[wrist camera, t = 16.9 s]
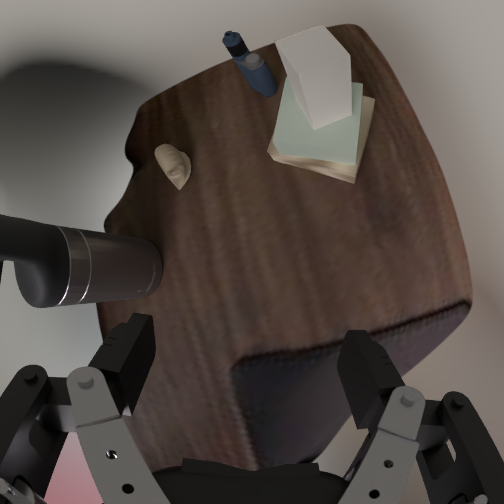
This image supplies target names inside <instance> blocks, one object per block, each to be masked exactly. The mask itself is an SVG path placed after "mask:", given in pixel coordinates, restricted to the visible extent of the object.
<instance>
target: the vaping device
mask: <svg viewBox="0 0 504 504" xmlns="http://www.w3.org/2000/svg"><path fill="white" fill-rule="evenodd" d="M223 43H224V45H225V46H226V48H227V49H228V51H229V52H230V54H231V56H232V57H233V60H234V61H235V63H236V64H237V66H238V67H239V69H240V71H241V72H242V74H243V76H244V77H245V79H246V80H247V82H248V84H249V85H250V87H252V88H253V89H255V90H256V91H258V92H259V93H261V94H262V95H264V96H265V97H270V96H273V95H274V94H275V93H276V91H277V85H276V82H275V80H274V78H273V76H272V73H271V71H270V69H269V67H268V65H267V63H266V62H264V59H263V58H261V57H260V55H259V54H257V53H252V52H250V51H249V50H248V48H247V47H246V45H245V43H244V41H243V39H242V38H241V36H240V34H239V33H237V32H232V31H227V32H226V33H225V37H224V38H223Z"/></svg>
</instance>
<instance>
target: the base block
mask: <svg viewBox="0 0 504 504" xmlns="http://www.w3.org/2000/svg"><path fill="white" fill-rule="evenodd" d="M374 104H375V99H373V98H370V97H366V96H362V110H361V122H360V132H359V141H358V150H357V158H356V166H355V165H350V164H344V163H338V162H332V161H325V160H318V159H311V158H304V157H296V156H288V155H280V153H279V151H278V150H277V148H276V146H275V145H274V143H273V136H274V133H273V136H272V139H271V142H270V144H269V147H268V150H267V151H268V153H269V154H270V155H271V157H272V158H273V160H274V161H278V162H282V163H285V164H289V165H293V166H297V167H300V168H304V169H308V170H311V171H315V172H318V173H321V174H325V175H328V176H331V177H335V178H338V179H341V180H344V181H347V182H351V183H354V184H355V181H356V177H357V174H358V170H359V167H360V163H361V159H362V156H363V152H364V148H365V144H366V141H367V137H368V133H369V129H370V125H371V121H372V116H373V112H374ZM274 132H275V131H274Z"/></svg>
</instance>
